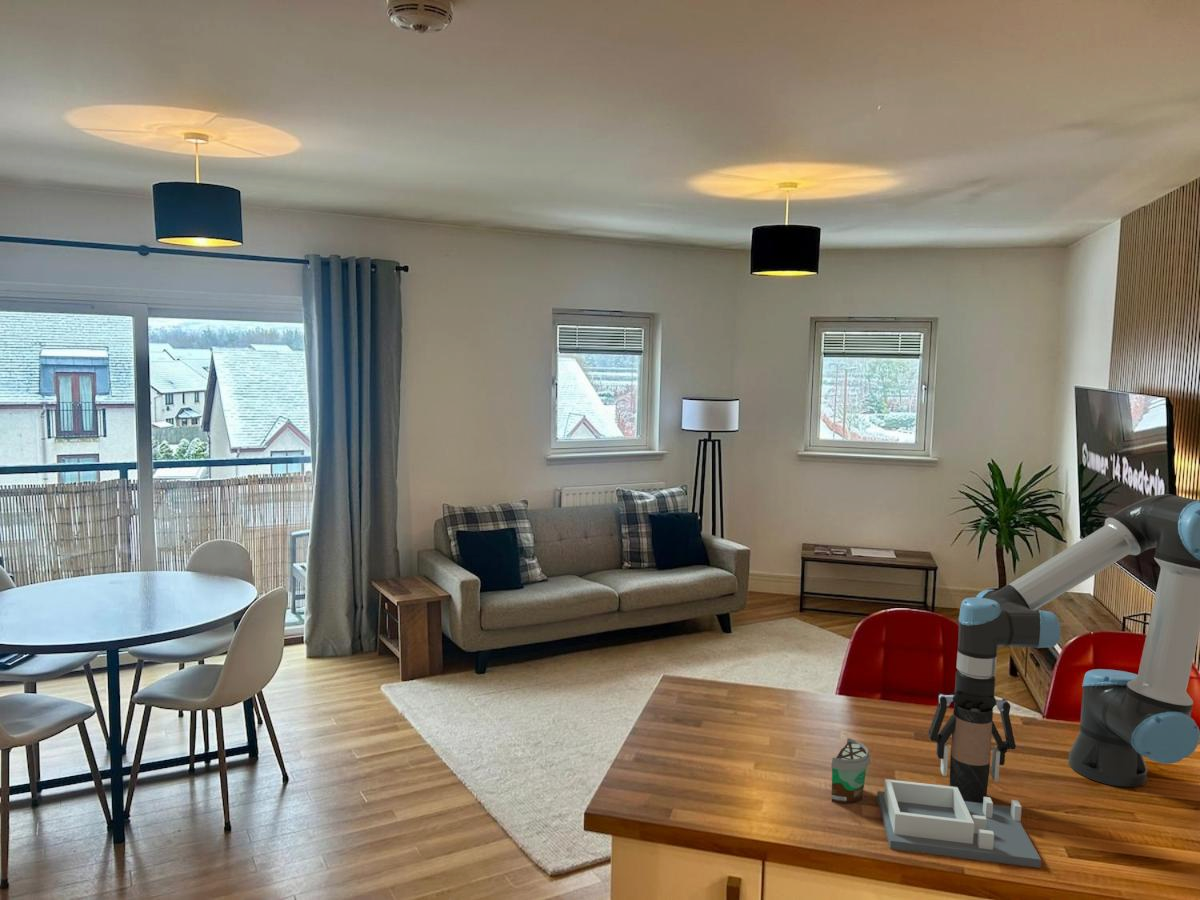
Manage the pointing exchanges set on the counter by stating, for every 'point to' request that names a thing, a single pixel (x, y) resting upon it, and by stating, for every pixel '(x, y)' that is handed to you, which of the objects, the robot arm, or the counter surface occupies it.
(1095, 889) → the counter surface
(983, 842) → the clips
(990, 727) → the travel mug
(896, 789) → the end holder
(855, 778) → the food container
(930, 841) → the grey fixture board
